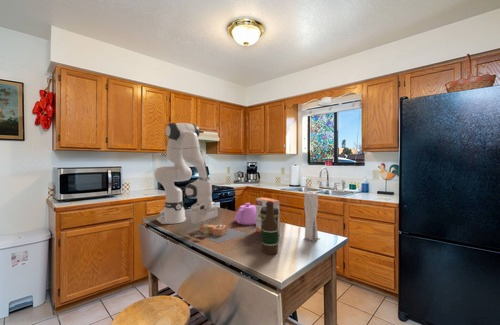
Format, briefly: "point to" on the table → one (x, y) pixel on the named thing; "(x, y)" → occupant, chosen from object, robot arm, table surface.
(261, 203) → the cracker box
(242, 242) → the table surface
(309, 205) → the skyscraper
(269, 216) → the beer bottle
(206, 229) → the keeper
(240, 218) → the teapot
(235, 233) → the board
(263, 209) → the coffee jar
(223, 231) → the square column with socket
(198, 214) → the robot arm
